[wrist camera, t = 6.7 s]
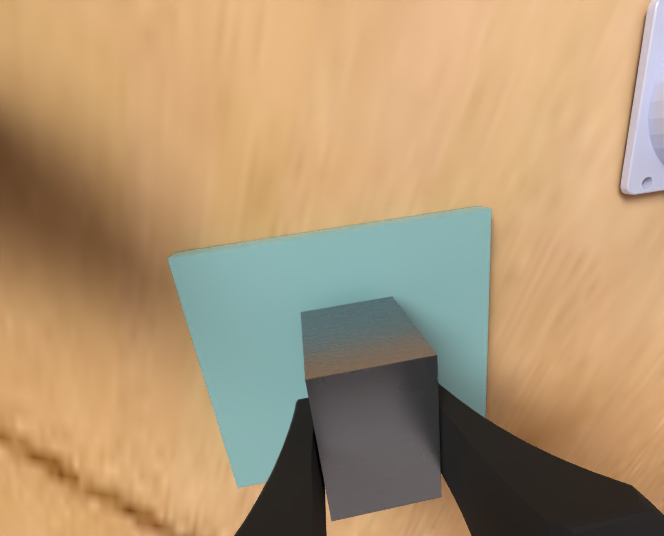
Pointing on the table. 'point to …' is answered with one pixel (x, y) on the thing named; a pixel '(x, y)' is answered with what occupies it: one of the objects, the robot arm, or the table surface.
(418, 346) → the block
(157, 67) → the table surface
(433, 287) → the teal board
